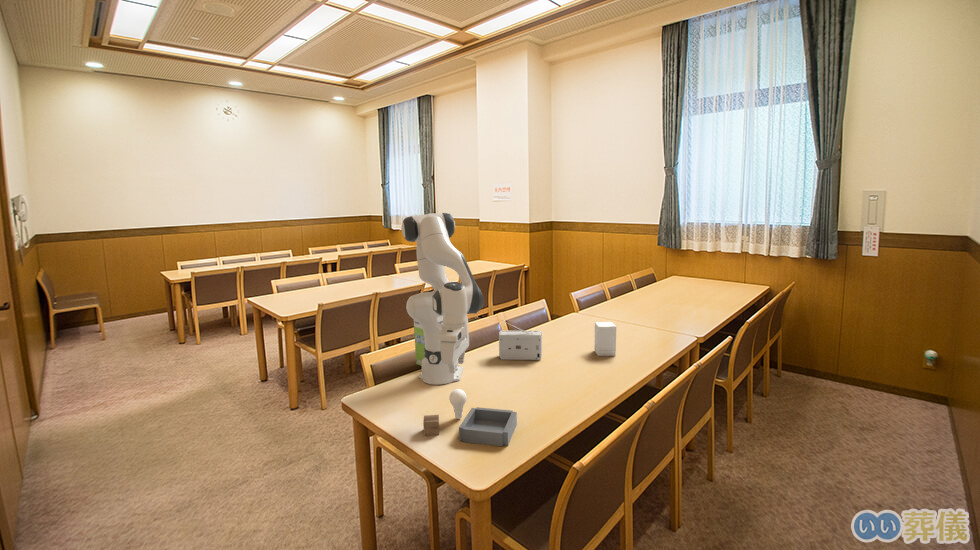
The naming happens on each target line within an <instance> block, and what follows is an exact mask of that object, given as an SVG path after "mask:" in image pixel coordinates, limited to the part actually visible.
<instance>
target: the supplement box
mask: <svg viewBox="0 0 980 550" xmlns="http://www.w3.org/2000/svg"><path fill="white" fill-rule="evenodd" d="M593 347H594V348H593V349H594V350H595V351H594V352H595V354H596V355H597V356H598V357H609V356H610V357H614V356H615V357H616V354H617V351H616V350H617V326H616V325H615V323H613V322H612V321H602V322H601V321H596V322H594V346H593Z"/></svg>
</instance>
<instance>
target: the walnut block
mask: <svg viewBox="0 0 980 550" xmlns="http://www.w3.org/2000/svg"><path fill="white" fill-rule="evenodd" d="M439 416H440V414H427V415H423V423H422V424H423V437H434V436H435V437H436V436H440V417H439Z"/></svg>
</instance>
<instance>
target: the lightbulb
mask: <svg viewBox="0 0 980 550" xmlns="http://www.w3.org/2000/svg"><path fill="white" fill-rule="evenodd" d="M467 398H468V397H467V394H466V392H465V391H464V390H463V389H461V388H455V389H453V390H452V391H451V392H450V394H449V399H448V400H449V402H450V404H451V405H452V408H453V412H454V418H456V420H460V419H461V418H462V417H463V412H464V407H465V404H466V402H467Z"/></svg>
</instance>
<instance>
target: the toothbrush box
mask: <svg viewBox="0 0 980 550" xmlns="http://www.w3.org/2000/svg"><path fill="white" fill-rule="evenodd" d="M437 321H438V323H440V324H443V316H439V317H437ZM413 329H414V348H415V361H416V365H417V366H420V367H422V360H423V359H424V358H425V356H424V348H425V339H424V332H423V329H422V327H421V325H420V324H419V323H418V322H417V321H416V320H415V319H413Z"/></svg>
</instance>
